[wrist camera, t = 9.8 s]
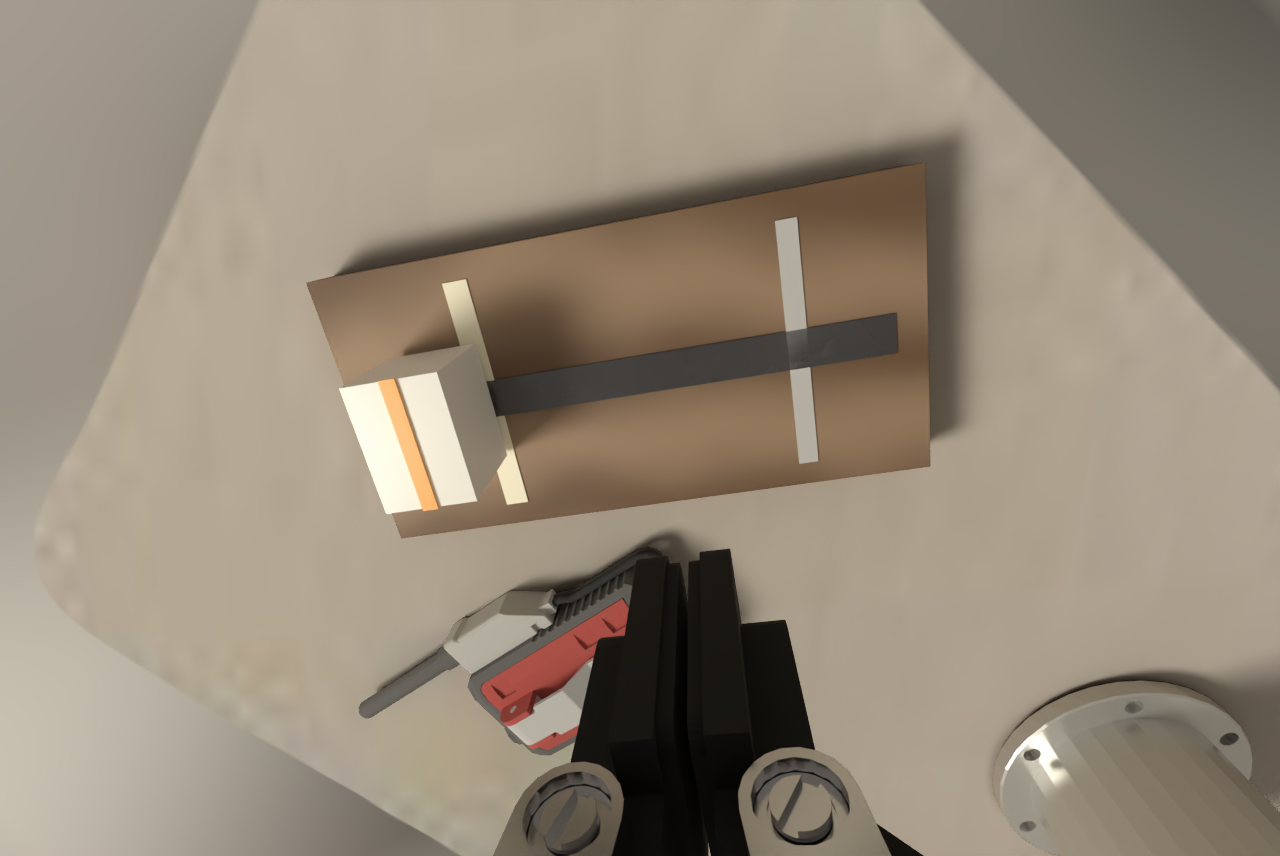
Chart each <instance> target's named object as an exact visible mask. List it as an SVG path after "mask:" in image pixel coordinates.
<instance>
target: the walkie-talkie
mask: <svg viewBox="0 0 1280 856" xmlns="http://www.w3.org/2000/svg"><path fill="white" fill-rule="evenodd" d="M653 557H662V554H661V552H660V551H659V550H657V549H655V548H650V547H647V548H643V549H640V550H636V551H635V552H633V553H632V554H630V555H628V556H627V557H625V558H624V559H622V560H620V561H619V562H617V563H616V564H614V565H613V566H611V567H609V568H608V569H606V570H605V571H603V572H602V573H600V574H598V575H597V576H595V577H594V578H592V579H591V580H589V581H587V582H586V583H584V584H583V585H581V586H579V587H577V588H575V589H573V590H570V591H562V592H559V593H556V592H555V591H554V590H553V589H552V590H550V591H549V592H545V591H510V592H507V593H506V594H504V595H503V596H501V597H500V598H498V599H497V600H495V601H493V602H492V603H490V604H489V605H487V606H486V607H484V608H483V609H481V610H480V611H478V612H477V613H475V614H474V615H472V616H471V617H469V618H463V619H461V620H460V621H458V622H457V623H455V624H454V625H453V627H452V629H451V631H450V633H449V635H448V637H447V639H446V641H445V643H444V645H443V646H442V647H441V648H440V649H439V650H438V652H437V653H436V654H435V655H433V656H432V657H430V658H429V659H427V660H426V661H424V662H423V663H421V664H419V665H418V666H416V667H415V668H413V669H412V670H410V671H409V672H407V673H406V674H404V675H402V676H401V677H399V678H398V679H396V680H395V681H393V682H392V683H391V684H389V685H388V686H386V687H385V688H383V689H382V690H380V691H379V692H377V693H376V694H374V695H373V696H371V697H370V698H368V699H367V700H365V701H364V702H362V703H361V704H360V706H359V714H360V715H361V716H362V717H364V718H371V717H373V716H374V715H376V714H378V713H379V712H381V711H382V710H384V709H385V708H387V707H389V706H390V705H392V704H393V703H395V702H397V701H398V700H400V699H401V698H403V697H404V696H406V695H408V694H409V693H411V692H412V691H414V690H416V689H417V688H419V687H420V686H422V685H423V684H425V683H427V682H428V681H430V680H431V679H433V678H435V677H436V676H438V675H439V674H441V673H443V672H444V671H446V670H451V669H453V668H455V667H456V666H458V665H459V664H461V665H462V666H463V667H464V668H465V669H466V670H467V671H468V672H469V673H470V674H472V675H471V677H470V679H469V683H468V688H469V690H470V692H471V694H472V696H473V697H474V699H475V700H476V702H477V703H478V704H480V705H481V706H482V707H483V708H484V709H485V710H486V711H487V712H489V713H490V714H491V715H492V716H493V717H494V718H495V719H496V720H497V721H498V722H499V723H500V724H502V725H503V726H504V727H505V730H506V732H507V734H508V736H509V737H510V739H511V740H512V741H513V742H515V743H518V744H523V745H524V746H525V747H526V748H527V749H528V750H530V751H531V752H532V753H535V754H539V755H552V754H554V753H555V752H557V751H559V750H561V749H563V748H565V747H566V746H568V745H570V744H572V743H574V742H575V740H576V736H577V731H578V727H579V722H580V718H581V713H582V708H583V704H584V699H585V695H586V690H587V686H588V681H589V677H590V672H591V668H592V663H593V658H594V654H595V649H596V645H597V642H598V640H599V639H600V638H603V637H613V636H624V635H625V629H626V623H627V617H628V611H629V604H630V598H631V592H632V585H633V579H634V573H635V567H636V561H637V560H638V559H644V558H653Z"/></svg>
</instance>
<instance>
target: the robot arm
mask: <svg viewBox="0 0 1280 856" xmlns="http://www.w3.org/2000/svg"><path fill="white" fill-rule="evenodd" d="M1252 762H1253V755H1252V751H1251V746H1250V742H1249V740H1248V738H1247V736H1246V735H1245V733H1244V731H1243V729H1242V728H1241V726H1240V725H1239V724H1238V723H1237V722H1236V721H1235V720H1234V719H1233V718H1232V717H1231V716H1230V715H1229V714H1228V713H1227V712H1226V711H1225V710H1224V709H1223V708H1221V707H1220V706H1219V705H1217V704H1216V703H1215V702H1213V701H1212V700H1211V699H1209V698H1208V697H1207V696H1204V695H1202V694H1200V693H1198V692H1196V691H1193V690H1191V689H1189V688H1186V687H1182V686H1178V685H1174V684H1170V683H1164V682H1153V681H1126V682H1114V683H1109V684H1103V685H1098V686H1093V687H1089V688H1086V689H1083V690H1080V691H1077V692H1074V693H1071V694H1068V695H1066V696H1064V697H1062V698H1060V699H1058V700H1056V701H1054V702H1052V703H1050V704H1048V705H1046V706H1045V707H1043V708H1042V709H1040V710H1039V711H1037V712H1036V713H1034V714H1033V715H1031V716H1030V717H1028V718H1027V719H1026V720H1025V721H1024V722H1023V723H1022V724H1021V725H1020V726H1019V727H1018V728H1017V729H1016V730H1015V731H1014V732H1013V733H1012V734H1011V736H1010V737H1009V739H1008V740H1007V741H1006V743H1005V744H1004V745H1003V747H1002V749H1001V751H1000V753H999V755H998V758H997V760H996V762H995V766H994V772H993V778H992V780H993V789H994V795H995V797H996V800H997V802H998V805H999V807H1000V809H1001V811H1002V813H1003V814H1004V816H1005V818H1006V820H1007V821H1008V823H1009V825H1010V826H1011V828H1012V829H1013V830H1014V831H1015V832H1016V833H1017V834H1018V835H1019V836H1020V837H1021V838H1022V839H1024V840H1025V841H1027V842H1028V843H1030V844H1032V845H1033V846H1035V847H1036V848H1038V849H1041V850H1043V851H1046V852H1048V853H1051V854H1053V855H1056V856H1280V812H1279V811H1278V810H1277V809H1276V808H1275V807H1274V806H1273V805H1272V804H1271V803H1270V802H1269V801H1268V800H1267V799H1266V798H1265V797H1264V796H1263V795H1262V794H1261V793H1260V791H1259V790H1258V789H1257V788H1256V787H1255V786H1254V785H1253V784H1252V783H1251V782H1250V781H1249V780H1250V777H1251V773H1252ZM708 843H709V848H710V853H711V856H923V855H922V854H920V853H919V852H917V851H916V850H914V849H913V848H911V847H910V846H908V845H907V844H906V843H904V842H903V841H901V840H900V839H898V838H897V837H895V836H894V835H892V834H891V833H890V832H888V831H887V830H885V829H884V828H882V827H881V826H879V825H878V824H876V822H875V820H874V817H873V815H872V813H871V811H870V809H869V807H868V804H867V802H866V800H865V798H864V796H863V794H862V792H861V789H860V787H859V786H858V784H857V783H856V781H855V780H854V778H853V777H852V775H851V773H850V772H849V771H848V770H847V769H846V768H845V767H844V766H842V765H841V764H840V763H839V762H838V761H837V760H835V759H834V758H832V757H830V756H828V755H826V754H823V753H821V752H819V751H817V750H815V747H814V743H813V738H812V734H811V730H810V725H809V721H808V716H807V712H806V708H805V703H804V699H803V694H802V690H801V685H800V681H799V677H798V672H797V668H796V663H795V659H794V654H793V650H792V646H791V641H790V637H789V632H788V628H787V624H786V621H785V620H778V621H768V622H757V623H747V624H741V617H740V611H739V604H738V598H737V591H736V584H735V578H734V571H733V565H732V558H731V552H730V549H723V550H714V551H705V552H700V560H699V561H690V562H689V578H688V601H687V595H686V590H685V585H684V579H683V574H682V569H681V565H680V563H672V564H670V562H669V559H668V557H667V556H662V557H653V558H644V559H638V560H637V561H636V567H635V573H634V579H633V585H632V592H631V598H630V604H629V611H628V617H627V623H626V629H625V635H624V636H613V637H603V638H600V639H599V640H598V642H597V645H596V649H595V654H594V658H593V663H592V668H591V672H590V677H589V681H588V686H587V690H586V695H585V699H584V704H583V708H582V713H581V718H580V722H579V727H578V731H577V736H576V740H575V745H574V749H573V754H572V759H571V763H567V764H564V765H561V766H558V767H555V768H553V769H551V770H549V771H548V772H546V773H545V774H543V775H541V776H540V777H538V778H537V779H536V780H535V781H534V782H533V783H532V784H531V785H530V786H529V787H528V788H527V789H526V790H525V791H524V793H523V794H522V796H521V797H520V799H519V801H518V802H517V804H516V806H515V808H514V810H513V812H512V814H511V817H510V819H509V821H508V823H507V825H506V828H505V830H504V832H503V834H502V837H501V839H500V841H499V843H498V846H497V848H496V850H495V852H494V855H493V856H708Z"/></svg>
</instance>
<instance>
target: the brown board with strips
mask: <svg viewBox="0 0 1280 856" xmlns="http://www.w3.org/2000/svg"><path fill="white" fill-rule="evenodd" d="M306 284H307V286H308V289H309V292H310V294H311V297H312V300H313V302H314V305H315V308H316V310H317V313H318V316H319V319H320V321H321V324H322V327H323V329H324V332H325V335H326V337H327V340H328V343H329V345H330V348H331V351H332V353H333V356H334V359H335V361H336V364H337V367H338V370H339V372H340V375H341V378H342V380H343V383H344V385H346V384H348V383H350V382H351V381H353V380H355V379H357V378H358V377H360V376H362V375H364V374H365V373H367V372H369V371H370V370H372V369H374V368H376V367H377V366H379V365H381V364H383V363H384V362H386V361H388V360H390V359H391V358H395V357H400V356H406V355H412V354H417V353H423V352H429V351H435V350H440V349H446V348H452V347H458V346H463V345H469V344H476V348H477V351H478V355H479V358H480V362H481V365H482V369H483V372H484V376H485V379H486V383H487V386H488V390H489V393H490V397H491V400H492V404H493V407H494V411H495V414H496V418H497V421H498V425H499V428H500V432H501V435H502V439H503V442H504V446H505V449H506V453H507V456H506V458H505V459H504V461H503V462H502V464H501V465H500V467H499V469H498V470H497V472H496V473H495V475H494V476H493V478H492V479H491V481H490V482H489V484H488V485H487V487H486V488H485V490H484V492H483V493H482V495H481V496H480V498H479V499H478V501H475V502H468V503H461V504H454V505H447V506H440V507H439V509H435V510H428V511H423V509H418V510H411V511H404V512H397V513H392V514H393V517H394V520H395V522H396V525H397V528H398V531H399V533H400V536H401V538H408V537H415V536H422V535H430V534H437V533H444V532H452V531H459V530H466V529H474V528H481V527H489V526H496V525H503V524H511V523H518V522H525V521H533V520H540V519H547V518H555V517H562V516H569V515H577V514H584V513H591V512H599V511H606V510H614V509H621V508H628V507H636V506H643V505H650V504H658V503H665V502H672V501H680V500H687V499H694V498H702V497H709V496H716V495H724V494H731V493H738V492H746V491H753V490H761V489H768V488H775V487H783V486H790V485H797V484H805V483H812V482H819V481H827V480H834V479H841V478H849V477H856V476H863V475H871V474H878V473H886V472H893V471H900V470H908V469H915V468H922V467H930V413H929V352H928V291H927V230H926V169H925V163H919V164H911V165H904V166H899V167H894V168H888V169H883V170H878V171H873V172H868V173H863V174H858V175H852V176H847V177H842V178H837V179H832V180H827V181H822V182H816V183H811V184H806V185H801V186H796V187H791V188H786V189H780V190H775V191H770V192H765V193H760V194H755V195H750V196H744V197H739V198H734V199H729V200H724V201H719V202H713V203H708V204H703V205H698V206H693V207H688V208H683V209H677V210H672V211H667V212H662V213H657V214H652V215H647V216H641V217H636V218H631V219H626V220H621V221H616V222H611V223H605V224H600V225H595V226H590V227H585V228H580V229H575V230H569V231H564V232H559V233H554V234H549V235H544V236H539V237H533V238H528V239H523V240H518V241H513V242H508V243H503V244H497V245H492V246H487V247H482V248H477V249H472V250H467V251H461V252H456V253H451V254H446V255H441V256H436V257H431V258H425V259H420V260H415V261H410V262H405V263H400V264H395V265H389V266H384V267H379V268H374V269H369V270H364V271H359V272H353V273H348V274H343V275H338V276H333V277H329V278H325V279H320V280H316V281H312V282H308V283H306Z"/></svg>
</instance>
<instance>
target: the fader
mask: <svg viewBox="0 0 1280 856" xmlns="http://www.w3.org/2000/svg"><path fill="white" fill-rule="evenodd" d="M339 390H340V392H341V395H342V398H343V400H344V403H345V406H346V408H347V411H348V414H349V416H350V419H351V422H352V424H353V427H354V430H355V432H356V435H357V438H358V440H359V443H360V446H361V448H362V451H363V453H364V456H365V459H366V461H367V464H368V467H369V469H370V472H371V475H372V477H373V480H374V483H375V485H376V488H377V491H378V493H379V496H380V499H381V501H382V504H383V507H384V509H385V512H386V514H390V513H397V512H404V511H411V510H418V509H423V511H428V510H435V509H439V507H440V506H447V505H454V504H461V503H468V502H475V501H478V499H479V498H480V496H481V495H482V493H483V492H484V490H485V488H486V487H487V485H488V484H489V482H490V481H491V479H492V478H493V476H494V475H495V473H496V472H497V470H498V469H499V467H500V465H501V464H502V462H503V461H504V459H505V458H506V456H507V453H506V449H505V446H504V442H503V439H502V435H501V432H500V428H499V425H498V421H497V418H496V414H495V411H494V407H493V404H492V400H491V397H490V393H489V390H488V386H487V383H486V379H485V376H484V372H483V369H482V365H481V362H480V358H479V355H478V351H477V348H476V344H469V345H463V346H458V347H452V348H446V349H440V350H435V351H429V352H423V353H417V354H412V355H406V356H400V357H395V358H391V359H390V360H388V361H386V362H384V363H383V364H381V365H379V366H377V367H376V368H374V369H372V370H370V371H369V372H367V373H365V374H364V375H362V376H360V377H358V378H357V379H355V380H353V381H351V382H350V383H348V384H346V385H344V386H343V387H341V388H339Z"/></svg>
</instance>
